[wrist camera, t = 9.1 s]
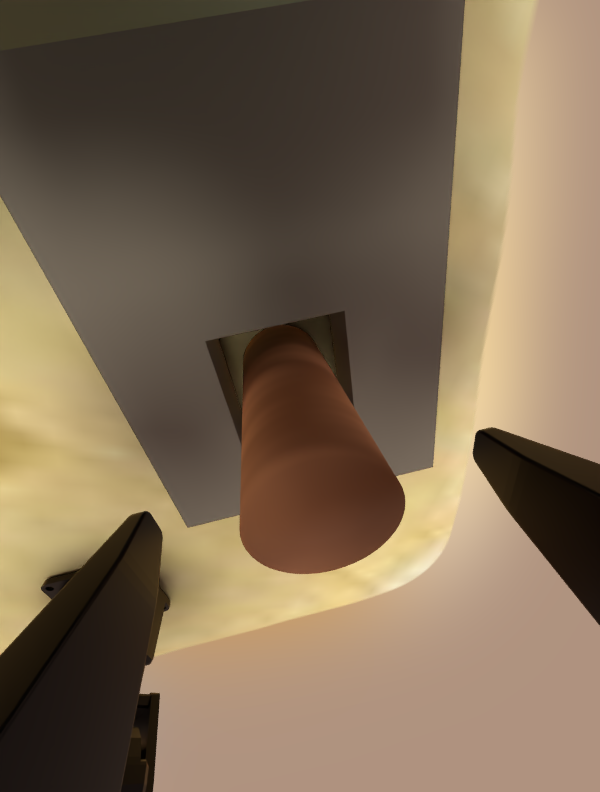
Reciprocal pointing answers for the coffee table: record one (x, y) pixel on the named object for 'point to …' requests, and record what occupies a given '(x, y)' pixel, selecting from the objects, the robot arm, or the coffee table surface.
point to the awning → (103, 16)
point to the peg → (308, 462)
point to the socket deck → (244, 212)
